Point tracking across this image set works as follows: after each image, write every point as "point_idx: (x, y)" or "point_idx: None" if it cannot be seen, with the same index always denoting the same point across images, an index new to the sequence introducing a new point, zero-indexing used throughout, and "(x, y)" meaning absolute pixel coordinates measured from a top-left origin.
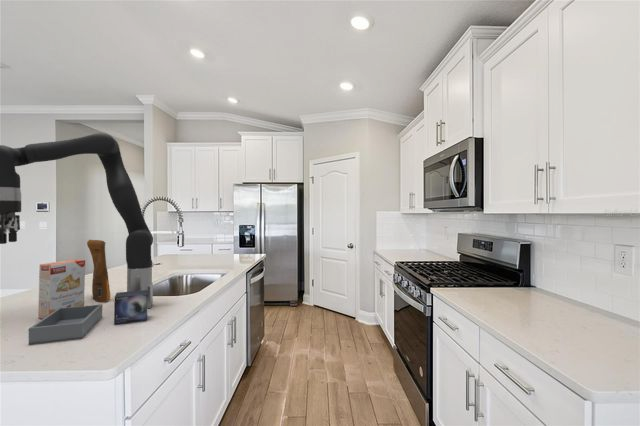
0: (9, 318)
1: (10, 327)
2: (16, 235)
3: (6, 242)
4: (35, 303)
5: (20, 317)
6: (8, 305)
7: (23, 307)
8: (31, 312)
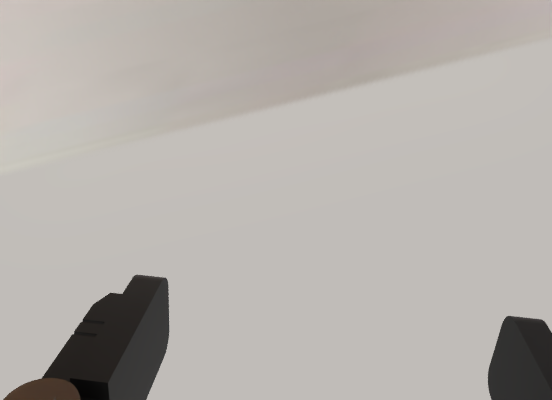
0: (307, 83)
1: (488, 35)
2: (114, 334)
3: (521, 319)
4: (35, 39)
5: (315, 39)
6: (35, 154)
7: (105, 77)
8: (235, 11)
